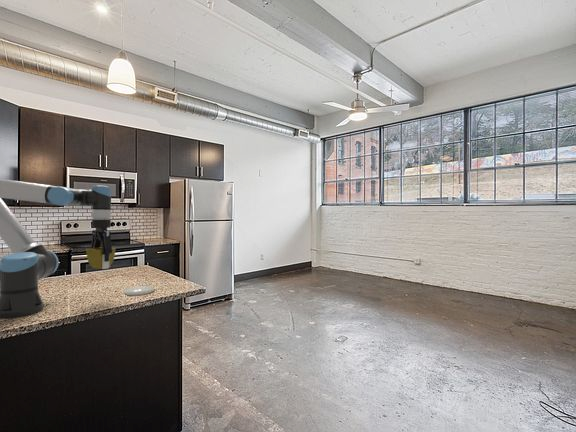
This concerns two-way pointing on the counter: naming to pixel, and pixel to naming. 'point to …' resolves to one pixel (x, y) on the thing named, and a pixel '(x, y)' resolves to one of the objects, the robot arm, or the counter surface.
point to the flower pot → (98, 257)
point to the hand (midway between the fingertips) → (100, 267)
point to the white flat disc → (139, 290)
